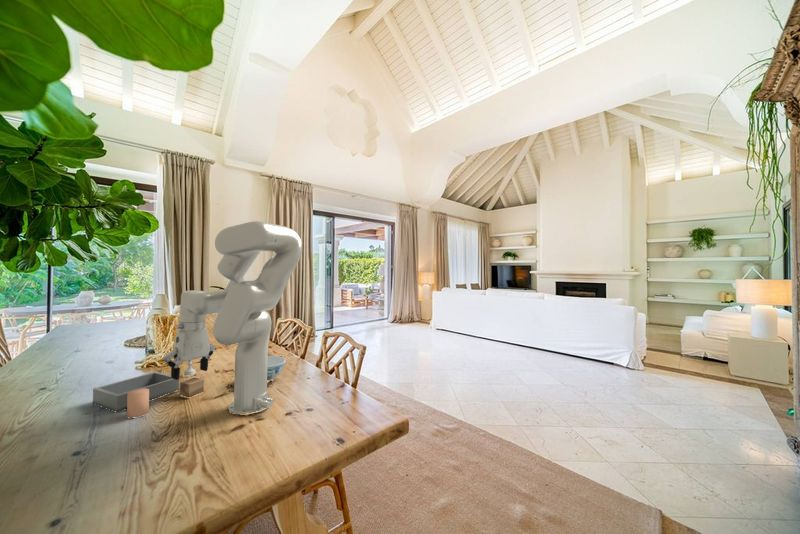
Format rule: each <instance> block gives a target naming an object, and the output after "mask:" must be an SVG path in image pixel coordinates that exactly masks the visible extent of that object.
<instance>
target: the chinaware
mask: <svg viewBox="0 0 800 534" xmlns="http://www.w3.org/2000/svg"><path fill="white" fill-rule="evenodd" d="M285 364H286V358H285V357H283V356H279V355H268V358H267V380H271V379H274V380H275V378H276V377H278V376H279V375H280V374H281V373H282V371H283V370H284V367H285Z"/></svg>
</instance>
